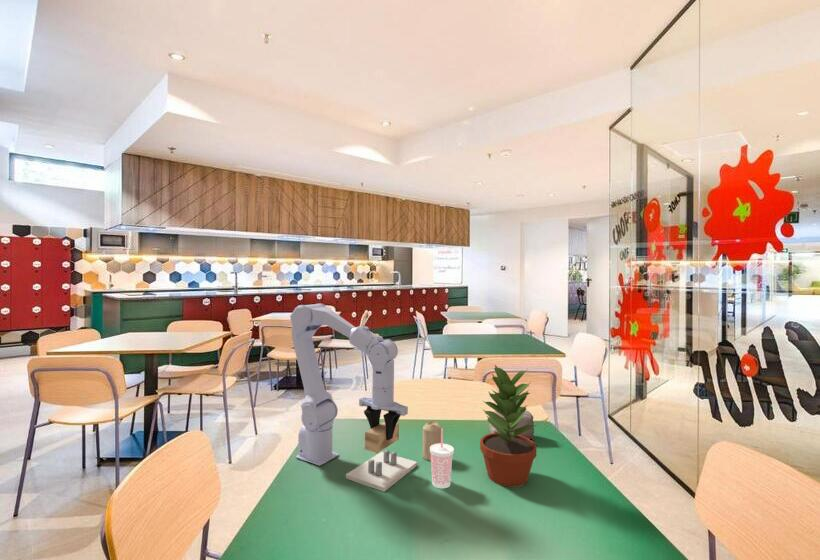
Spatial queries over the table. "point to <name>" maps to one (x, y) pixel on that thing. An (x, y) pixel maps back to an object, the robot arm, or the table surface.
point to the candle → (430, 437)
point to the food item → (519, 424)
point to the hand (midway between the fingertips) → (382, 437)
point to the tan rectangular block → (379, 438)
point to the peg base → (386, 472)
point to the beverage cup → (441, 463)
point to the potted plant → (508, 434)
